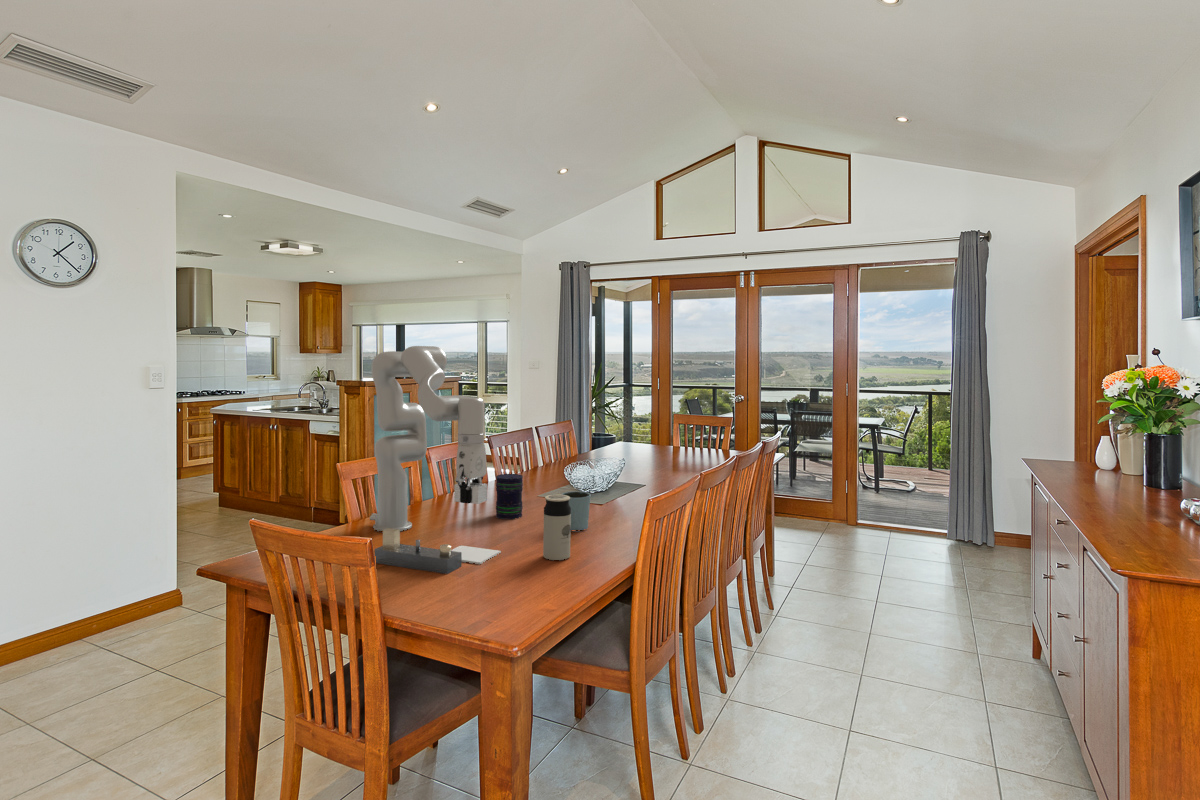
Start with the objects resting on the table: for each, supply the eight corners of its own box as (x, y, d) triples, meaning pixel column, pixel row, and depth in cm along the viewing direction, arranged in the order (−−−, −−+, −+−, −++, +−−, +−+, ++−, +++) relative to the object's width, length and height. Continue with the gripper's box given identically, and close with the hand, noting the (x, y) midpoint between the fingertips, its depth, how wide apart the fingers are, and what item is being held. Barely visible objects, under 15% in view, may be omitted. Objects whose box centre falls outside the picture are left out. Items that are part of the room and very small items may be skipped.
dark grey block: (374, 562, 182) (374, 531, 181) (390, 555, 188) (390, 525, 188) (447, 574, 174) (447, 541, 173) (461, 566, 180) (461, 534, 180)
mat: (438, 558, 187) (438, 556, 187) (460, 547, 198) (460, 545, 198) (480, 564, 182) (480, 562, 182) (500, 552, 193) (500, 550, 193)
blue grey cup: (591, 525, 227) (592, 491, 227) (588, 533, 217) (588, 498, 217) (563, 524, 228) (563, 490, 228) (558, 531, 218) (559, 496, 218)
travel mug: (537, 556, 191) (538, 496, 190) (559, 551, 196) (560, 493, 195) (553, 562, 185) (554, 501, 184) (575, 557, 190) (576, 497, 189)
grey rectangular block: (454, 501, 188) (454, 484, 188) (463, 498, 193) (463, 481, 192) (478, 503, 185) (478, 486, 185) (487, 500, 190) (487, 483, 190)
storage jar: (492, 514, 241) (492, 474, 240) (517, 511, 245) (518, 473, 244) (499, 520, 232) (500, 479, 231) (525, 518, 236) (526, 477, 235)
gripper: (466, 443, 179) (466, 508, 180) (496, 437, 195) (496, 496, 196) (443, 442, 181) (443, 505, 182) (474, 435, 197) (474, 494, 198)
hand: (470, 500), depth 189 cm, fingers closed on grey rectangular block, 5 cm apart
